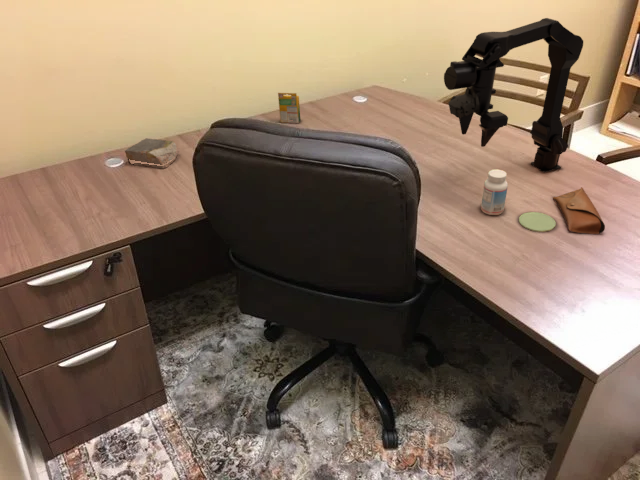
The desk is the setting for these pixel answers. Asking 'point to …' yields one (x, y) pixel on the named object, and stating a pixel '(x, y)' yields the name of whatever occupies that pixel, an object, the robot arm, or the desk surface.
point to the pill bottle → (494, 192)
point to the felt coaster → (537, 221)
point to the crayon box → (289, 108)
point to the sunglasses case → (580, 212)
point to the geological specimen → (152, 152)
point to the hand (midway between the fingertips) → (473, 140)
